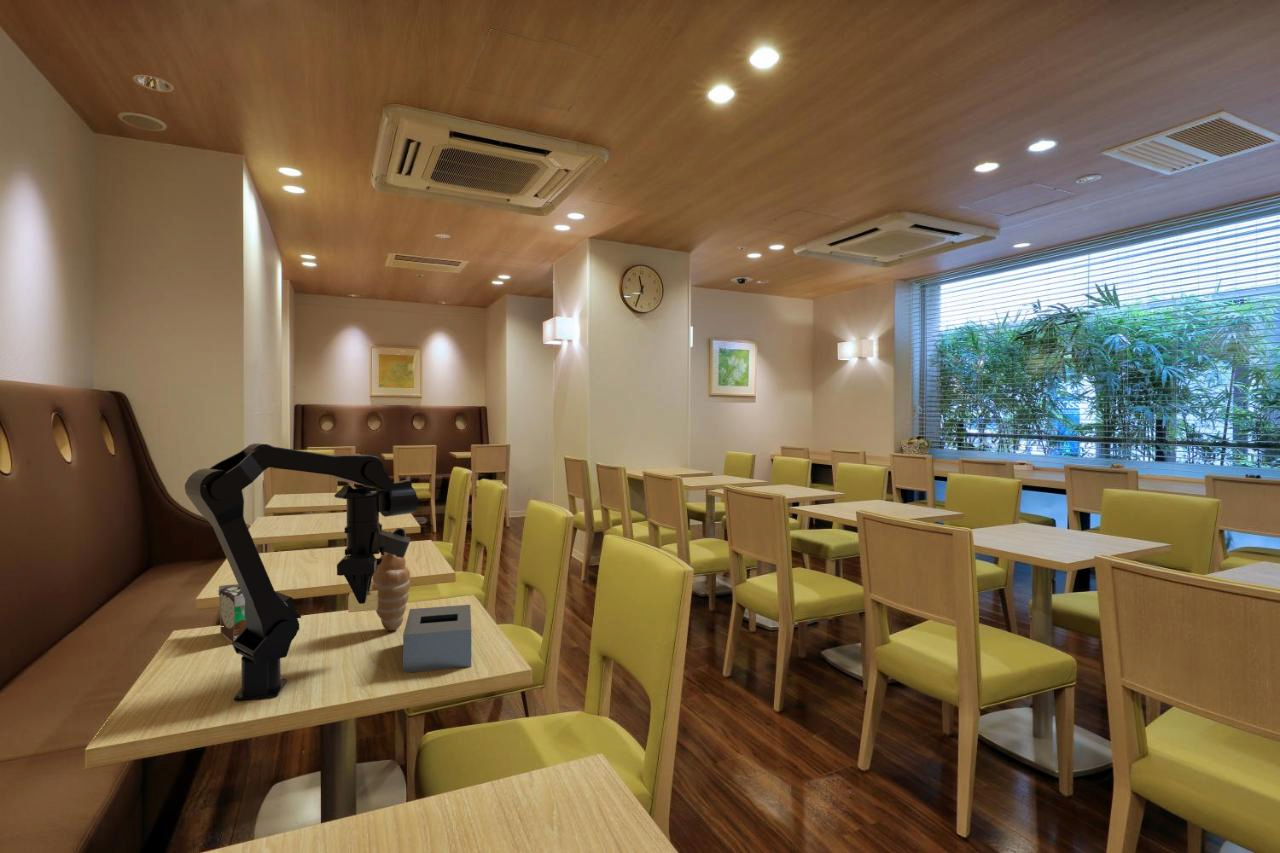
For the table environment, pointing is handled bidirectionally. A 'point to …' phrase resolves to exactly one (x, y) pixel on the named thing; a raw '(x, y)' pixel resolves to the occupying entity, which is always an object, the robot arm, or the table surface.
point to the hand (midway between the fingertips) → (363, 600)
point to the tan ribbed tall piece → (391, 590)
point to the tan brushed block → (369, 604)
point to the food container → (232, 611)
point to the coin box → (437, 638)
